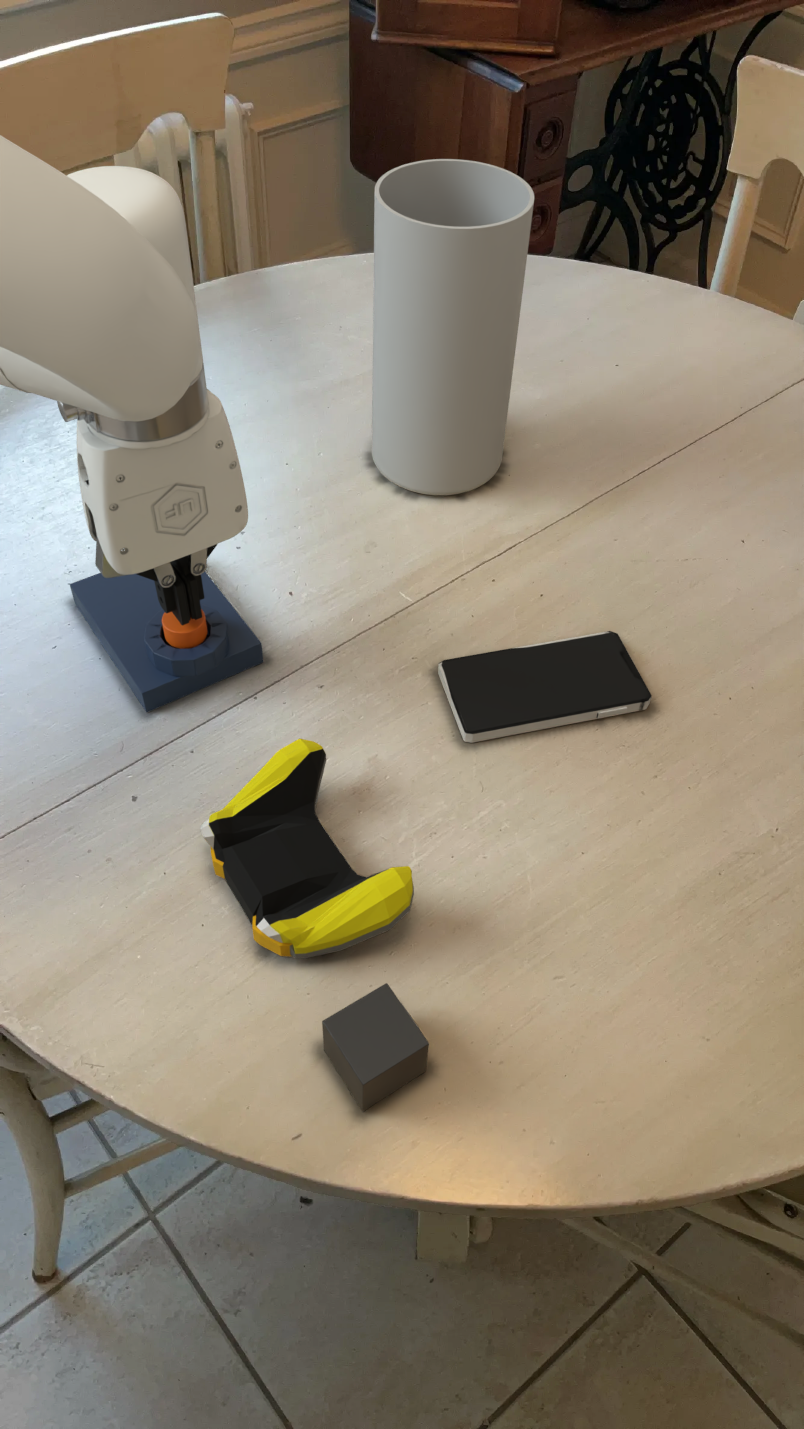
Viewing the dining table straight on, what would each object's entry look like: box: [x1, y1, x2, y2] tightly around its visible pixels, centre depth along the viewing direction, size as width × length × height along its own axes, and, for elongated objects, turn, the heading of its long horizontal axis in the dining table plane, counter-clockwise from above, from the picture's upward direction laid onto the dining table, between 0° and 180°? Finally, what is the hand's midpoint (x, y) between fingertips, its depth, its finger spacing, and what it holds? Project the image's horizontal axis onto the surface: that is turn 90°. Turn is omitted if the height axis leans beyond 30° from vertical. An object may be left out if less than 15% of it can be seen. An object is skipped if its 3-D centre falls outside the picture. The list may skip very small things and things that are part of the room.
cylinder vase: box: [371, 158, 535, 496], centre depth 92 cm, size 12×12×25 cm
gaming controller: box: [200, 738, 415, 959], centre depth 68 cm, size 15×6×10 cm
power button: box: [162, 609, 207, 649], centre depth 79 cm, size 3×3×2 cm
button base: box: [69, 571, 264, 713], centre depth 83 cm, size 15×10×4 cm
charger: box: [321, 982, 430, 1112], centre depth 61 cm, size 5×4×4 cm
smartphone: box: [437, 630, 653, 744], centre depth 82 cm, size 8×1×15 cm
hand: (183, 610), depth 78 cm, fingers closed
